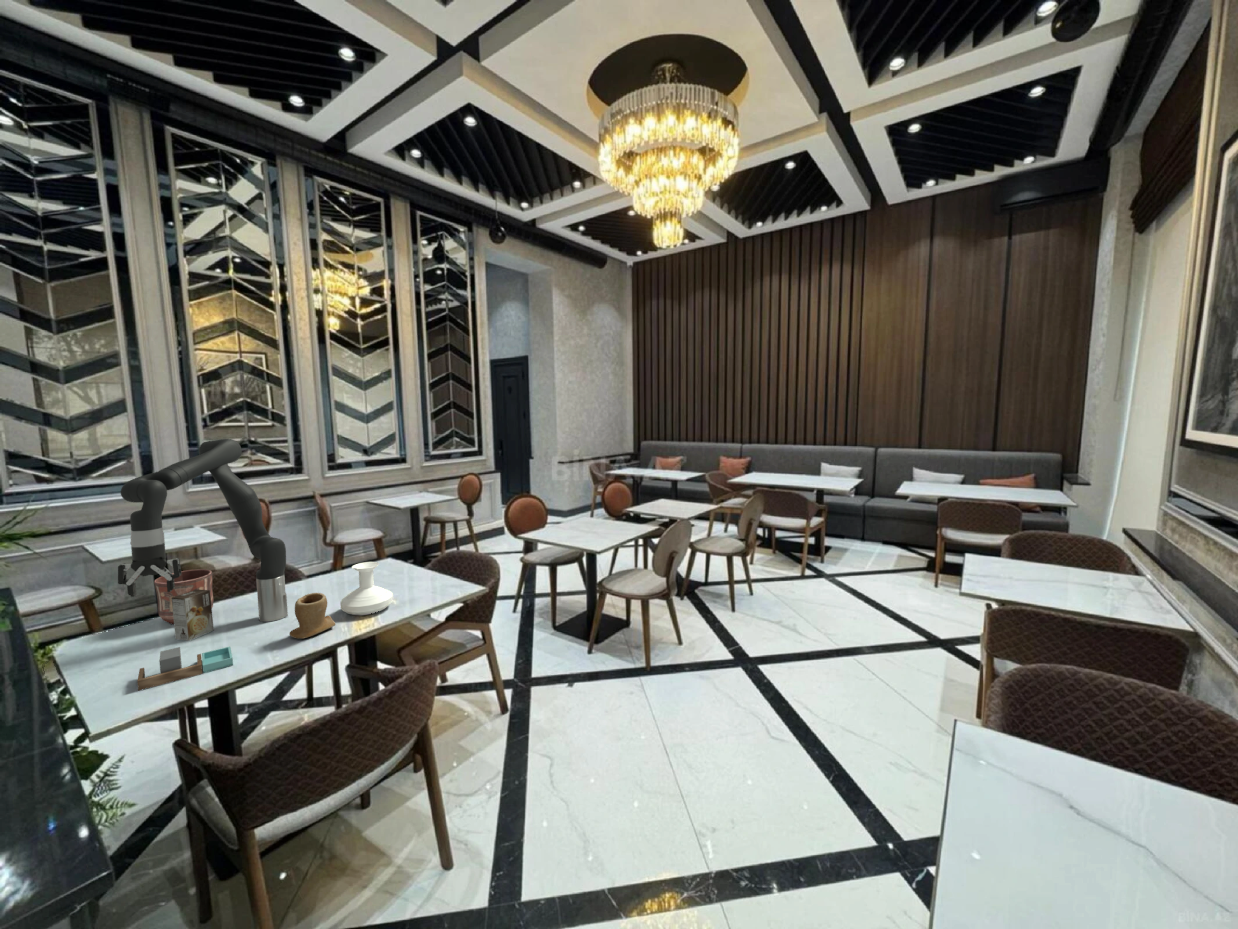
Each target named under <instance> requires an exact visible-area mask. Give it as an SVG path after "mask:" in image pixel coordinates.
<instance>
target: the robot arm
mask: <svg viewBox="0 0 1238 929" xmlns="http://www.w3.org/2000/svg"><path fill="white" fill-rule="evenodd" d="M198 448H199V449H198V453H199V455H196V456H192V457H190V458H186V459H183V460H180V461H178V462H175V463H172V464H170V465H167V466H166V467H164V468H162V469H160V470H158V471H156V472H152V473H148V474H144V475H142V476H137V477H135V478H132V479H130V480H128V481H127V482H126V483H124V484H123V485H122V486H121V487H120V496H121V497H122V499H123V500H125V501H127V502H128V503H129V502H130V503H142V506H141V509H140V510H139V509H138V510H136V511H133V512H131V514H130V517H129V518H130V520H129V521H130V541H129V542H130V548H131V560H132V562H131V563H125V562H123V563H121V564H119V565H118V566H117V584H118V585H125V586H126V587H127V594H128V596H130V597H131V598H132V597H133V598H134V597H136V595H137V586H136V581H137V580H138V579H139V577H140V576H142V577H147V576H157V575H158V574H159V576H160V577H162V576H163V577H164V578H166V579H167V592H171V591H172V590H173V589H174V587H175V584H174V579H175V578H178V577H179V576H180V575H181V574H182V573H181V571H182V568H181V561H180V558H179V557H176V558H172V559H167V556H166V555H167V554H166V541H165V533H164V528H163V518H162V517H163V516H162V514H163V511H164V508H165V504H166V500H167V496H168V491H172V490H174V489H176V488H179V487H180V486H182V485H185V484H186V483H188V482H189V481H191V480H193V479H195V478H197V477H199V476H200V475H203V474H205V473H207V472H209V473H210V475H211V476H212V477H213V479H214V481H215V482H216V484H217V486H218V488H219V489H220V491H221V493H222V495H223V496H224V499H225V501H226V503H227V505H228V506H229V508H230V511H231V512H232V514H233V516H234V518H235V520H236V521H237V524H238V526H239V527H240V528H241V531H242V532H243V535H244V538H245V540H246V543H247V546H248V548H249V551H250V553H251V555H252V556H253V557H254V558H256V559H257V560H260V567H259V568H260V569H257V571H256V572H255V579H256V580H255V581H256V593H257V606H258V608H257V609H258V620H259V621H260V622H262V623H264V622H267V623H268V622H273V621H274V622H275V621H278V620H281V619H283V618H287V617H288V616H289V612H288V599H287V598H288V597H287V592H286V580H285V570H286V568H287V550H286V548H287V547H286V544H285V542H284V541H283V540H282V539H281V538H277V537H273V536H271V535H270V534H269V532H268V531H267V528H266V526H265V524H264V522H263V508H262V503H261V501H260V499H259V496H258V495H257V493H256V492H255V490H254V489H253V488H252V487H251V486H250V485H249V484H248V483H246V482H245V481H244V480H242V478H239V477H238V476H237V475H236V474H235V473H234V472H233V470H232V469H231V468H230V466H229V464H232V463H234V462H237V461H238V460H239V459H240V457H241V456H242V452H243V451H242V447H241V444H240V443H239V442H238V441H236V440H235V439H232V438H221V439H214V440H213V439H212V440H206V441H203V442H202V443H201V444H200V445H199V447H198ZM167 565H169V566H170V567H172V569H173V570H172V571H173V572H172V573H174V574H172V573H171V571H170V570H169V569H167V568H166V567H167ZM130 568H131V569H132V570H133V571H134V573H133V574H132V575H131V577H130V578H127V573H128V572H127V571H129V570H130Z"/></svg>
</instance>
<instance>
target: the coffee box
mask: <svg viewBox="0 0 1238 929" xmlns="http://www.w3.org/2000/svg"><path fill="white" fill-rule="evenodd" d="M172 607H173V617H174V624H173V625H174V626H173V627H174V635H175V636H174V637H175V640H178V641H179V640H180V641H187V642H189V641H192V640H194V639H196V638H199V637H202V636H204V635H206V634H208V633H210V632H213V631H214V630H215V629H214V628H215V627H214V619H213V618H214V616H213V607H211V596H210V590H194V591H191V592H187V593H184V594H181V595H178V596H175V597H172Z"/></svg>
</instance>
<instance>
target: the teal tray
mask: <svg viewBox="0 0 1238 929" xmlns="http://www.w3.org/2000/svg"><path fill="white" fill-rule="evenodd" d="M233 659H234V658H233V654H232V648H231V646H226V647H222V648H217V649H213V650H209V651H205V652H203V653H201V660H202V674H206V673H209V672H212V671H216V670H217V671H218V670H220V669H224V668H227V667H228V668H229V667H231V666H234V661H233Z"/></svg>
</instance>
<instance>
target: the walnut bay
mask: <svg viewBox="0 0 1238 929" xmlns="http://www.w3.org/2000/svg"><path fill="white" fill-rule="evenodd" d="M196 661H197V662H196V664H194V665H190V666H185V667H182V668H181V669H177V670H173V671H169V672H165V673H158V674H154V675H150V676H146V672H145V667H141V668H139V670H138V674H137V675H138V677H137V691H143V690H146V689H145V688H147V689H150V687H151V688H153V687H157V686H161V685H165V684H170V683H173V682H177V681H180V680H184V679H187V678H188V679H189V678H191V677H195V676H198V675H203V663H202V653H199V654H196ZM142 689H143V690H142Z"/></svg>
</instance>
